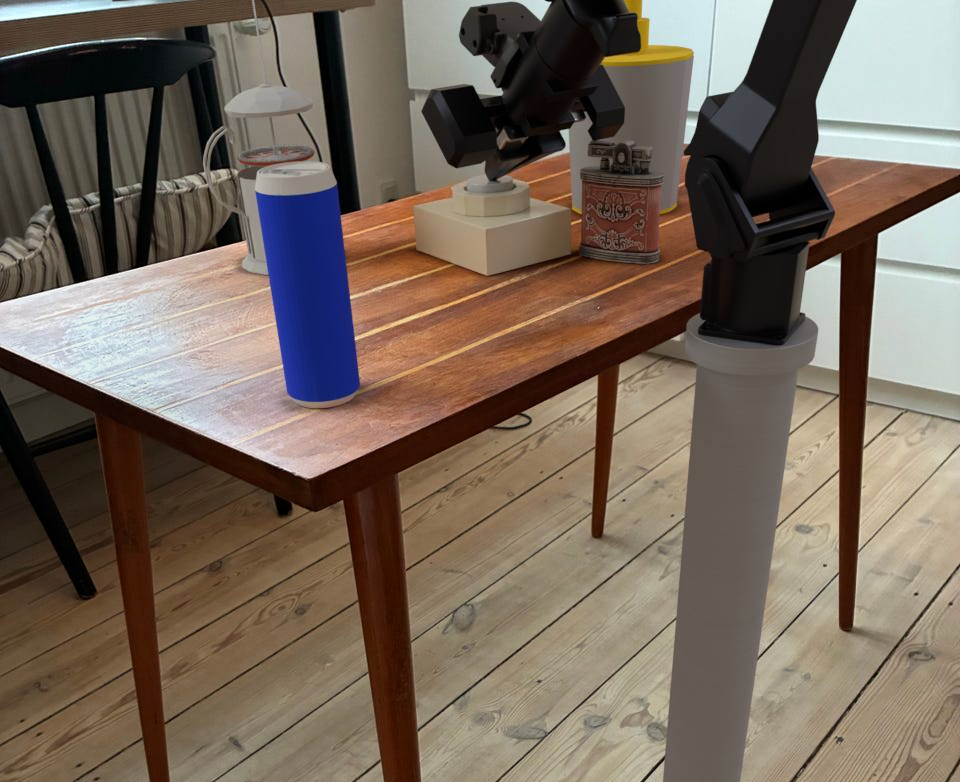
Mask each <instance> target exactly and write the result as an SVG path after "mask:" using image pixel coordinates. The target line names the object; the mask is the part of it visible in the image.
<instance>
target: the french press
mask: <svg viewBox="0 0 960 782" xmlns="http://www.w3.org/2000/svg"><path fill="white" fill-rule="evenodd" d="M251 4H252V10H253V16H254V17H253V18H254V23H255V31H256V37H257V44H258V51H259V57H260V64H261V70H262V77H263V83H261V84H260V85H259V86H255V87H253V88H249V89H246V90H243V91H241V92H240V93H238V94H237V95H235V96H234V97H233V98H232V99H231V100H230V101H229V102H228V103H227V104H226V105H224V107H223V108H224V112H225V114H226V115H227V116H229V117H231V118H236V119H237V118H240V119H242V118H243V119H248V118H249V119H250V118H251V119H253V118H256V119H257V118H260V119H261V118H269V125H270V131H271V138H272V145H273V146H272V145H270V146H269V145H266V146H260V147H259V146H258V147H254V148H250V149H247V150H243V151H242V152H240V153H239V154H238V155H237V160H238V162H239V163H240V164H243V165H246V166H249V167H246V168H244V169H242V170H240V171H238V172H237V179H238V184H239V190H240V198H241V201H242V202H241V203H242V208H243V210H242V209H241V208H239V207H236V206H234V205H231V204H228V203H226V202H225V201H224V200H223V199H221V197H220V195H219V193H218V192H217V190H216V188H215V186H214V184H213V180H212V174H211V157H212V156H211V155H212V152H213V149H214V147H215V146H216V144H217V142H218V141H219V139H220V138H221V137H222V136H223V135H225V134H226V133H227V135H228V141H229V142H230V144H231V145H233V146H235V145H236V137H235V132H234V130H232V128H230V127H229V126H227V125H222V126H221V127H219V128H218V129H216V130H215V131H214V132H213V133H212V134H211V136H210V137H209V139H208V140H207V142H206V145H205V148H204V153H203V160H202V166H203V171H204V177H205V181H206V183H207V186H208V188H209V190H210V192H211V193H212V195H213V197H214V198H215V199H216V200H217V201H218V202H219V204H220V205H222V206H223V207H224V208H226V209H227V210H228V211H231V212H233V213H235V214H238V215H241V219H242V225H243V230H244V236H245V243H246V248H247V255H246V256H245V258H244V259H242V260H243V261H242V262H241V268H242V269H244V270H245V271H247V272H249V273H252V274H258V275H265V276H269V275H268V268H267V262H266V256H265V250H264V243H263V237H262V231H261V224H260V218H259V212H258V205H257V199H256V193H255V184H256V177H257V172H258V170H260V169H262V168H264V167H267V166H270V165H274V164H280V163H287V162H298V161H309V160H310V159H311V158H312V157H314V155H315V150H314V148H312V147H310V146H307V145H302V144H301V145H298V144H294V145H292V144H287V146H286V144H284V145H283V144H281V145H279V144H276V138H275V132H274V124H273V118H274V117H283V116H290V115H296V114H302V113H306V112H309V111H310V110H312V109H313V106H314V101H313V99H312V98H310V97H309V96H307V95H305V94H304V93H302V92H301V91H299V90H297V89H294V88H290V87H288V86H281V85H272V83H270V82H267V77H266V71H265V63H264V58H263V57H264V56H263V50H262V45H261V38H260V31H259V24H258V18H257V10H256V3H255V0H251Z"/></svg>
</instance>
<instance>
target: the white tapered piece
mask: <svg viewBox="0 0 960 782" xmlns="http://www.w3.org/2000/svg"><path fill="white" fill-rule="evenodd" d="M624 2H625V4H626V6H627V8H628V10H629V12H630V13H637V15H638V20H637V25H638V30H639V32H640V35H641V50H640V51H639V52H637V53H630V54H624V55H617V56H610V57H605V58H604V59H603V61H602V62H601V64H600V65H603V66H604V68H605V70H606V72H607V74H608V76H609V78H610V80H611V81H612V83H613V85H614V87H615V89H616V91H617V93H618V95H619V97H620V99H621V101H622V102H623V104H624V106H625V121H624V124H623V125H622V127H621V128H620V129H619V131H618V132H617V134H616V135H615V136H614V137H610V138H606V139H601V140H599V141H613V142H615V144H619V143H621V142H623V141H626V140H633V141H635V143H636V145H637V146H649V147H652V159H651V163H650V166H649V170H653V171H660V172H663V173H664V181H663V184H661V199H660V215H663V214H667V213H670V212H672V211H673V210H674V209H675V208H677V205H678V196H679V186H680V179H681V170H682V162H683V155H684V144H685V136H686V126H687V118H688V110H689V101H690V93H691V84H692V77H693V66H694V57H695V56H694V54H695V52H694V50H693V48H689V47H684V46H677V45H665V44H649V39H650V18H649V17H642V16H643V0H624ZM584 113H585V115H586V119H585V120H584V121H581V122H576V123H574V124H573V125H572V127H571V128H570V129H568V146H569V168H570V191H571V193H570V194H571V211H573V212H576V213H578V214H579V215H582V180H581V179H580V169H582V168H584V167H589V166H600V160H602V158H600V157H589V156H588V144H589V143H590V141H592V138H591V136H590V135H589V133H588V129H589V128H590V127H591V125H592V122H591V120H590V118H589V116H588V114H587V112H584ZM609 160H610V165H612V160H613V159H612V158H609ZM639 163H640V161H639Z"/></svg>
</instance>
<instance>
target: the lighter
mask: <svg viewBox="0 0 960 782" xmlns="http://www.w3.org/2000/svg"><path fill="white" fill-rule="evenodd" d="M588 156H589V157H600V158H602V160H600V166H589V167H584V168H582V169H580V179H581V180H582V214H581V226H580V227H581V230H580V231H581V232H580V242H579V243H578V254H579V255H580V256H581V257H587V258H591V259H595V260H601V261H610V262H616V263H618V262H619V263H629V264H641V265H643V264H645V265H647V264H653V263H657V262H659V260H660V248H659V235H660V234H659V232H660V215H661V214H660V199H661V184H663V181H664V173H663V172H660V171H653V170H649V166H650V163H651V159H652V147H649V146H637V145H636V143H635V141H633V140H626V141H623V142H621V143H619V144H615V142H613V141H599V140H596V141H593V140H592V141H590V143H589V144H588ZM609 158H612V159H613V160H612V165H610V160H609ZM639 161H640V163H639Z"/></svg>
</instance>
